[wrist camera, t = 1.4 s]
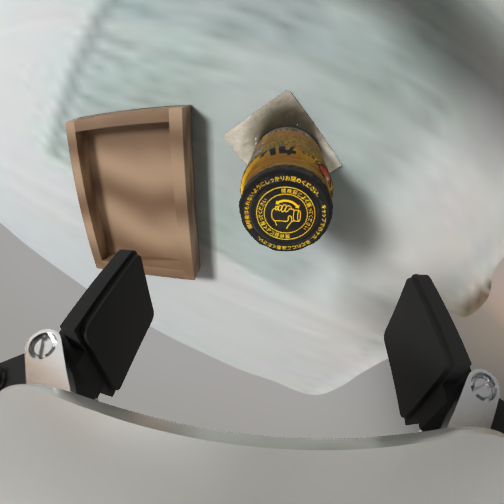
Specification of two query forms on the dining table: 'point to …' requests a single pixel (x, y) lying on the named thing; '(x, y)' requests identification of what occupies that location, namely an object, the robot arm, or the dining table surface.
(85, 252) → the dining table surface
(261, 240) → the condiment
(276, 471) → the robot arm
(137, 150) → the serving tray
